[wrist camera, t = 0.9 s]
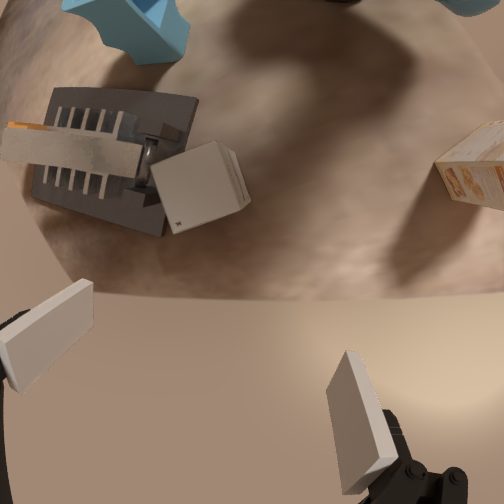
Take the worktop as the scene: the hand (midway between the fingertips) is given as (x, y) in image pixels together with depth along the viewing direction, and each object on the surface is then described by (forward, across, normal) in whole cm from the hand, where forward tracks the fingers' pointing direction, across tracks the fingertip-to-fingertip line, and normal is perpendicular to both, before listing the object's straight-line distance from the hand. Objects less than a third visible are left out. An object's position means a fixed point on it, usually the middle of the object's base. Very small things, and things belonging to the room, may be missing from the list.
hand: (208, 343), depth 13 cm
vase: (+28, -20, +26) cm, 43 cm away
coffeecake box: (+28, +31, +21) cm, 46 cm away
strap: (+16, -22, +7) cm, 29 cm away
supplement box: (+28, -6, +5) cm, 29 cm away
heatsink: (+27, -26, +7) cm, 38 cm away
